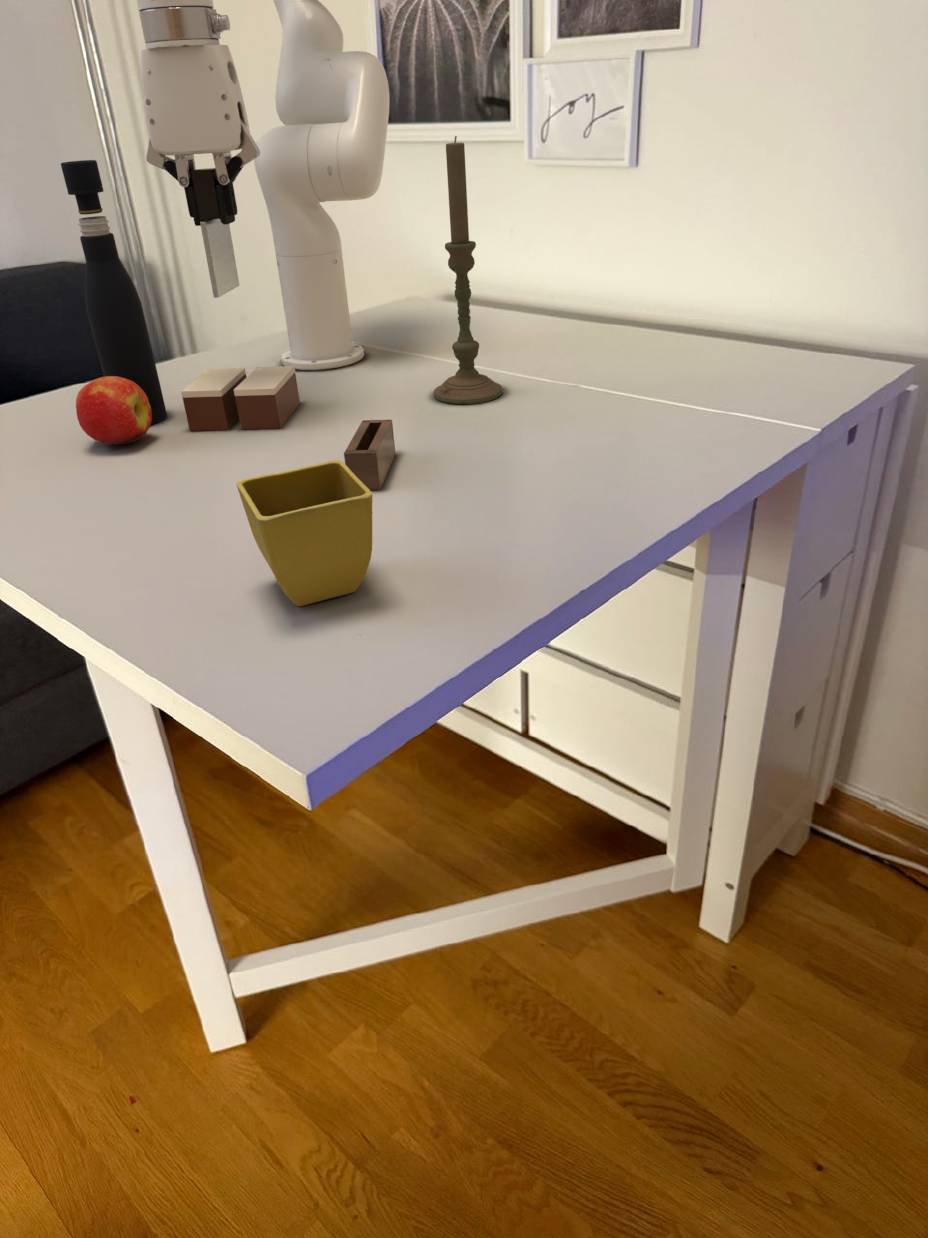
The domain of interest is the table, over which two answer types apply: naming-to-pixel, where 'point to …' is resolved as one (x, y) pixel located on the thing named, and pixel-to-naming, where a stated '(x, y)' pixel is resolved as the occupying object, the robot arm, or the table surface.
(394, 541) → the table surface
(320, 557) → the flower pot
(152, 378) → the wine bottle
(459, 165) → the candlestick holder
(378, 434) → the knife block
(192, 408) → the cake
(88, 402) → the apple
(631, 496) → the table surface
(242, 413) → the cake slice
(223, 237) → the knife
